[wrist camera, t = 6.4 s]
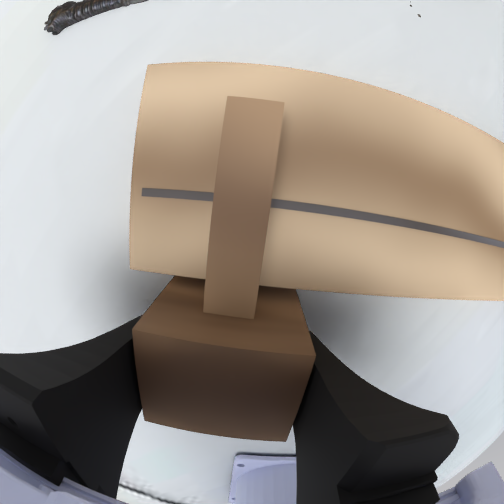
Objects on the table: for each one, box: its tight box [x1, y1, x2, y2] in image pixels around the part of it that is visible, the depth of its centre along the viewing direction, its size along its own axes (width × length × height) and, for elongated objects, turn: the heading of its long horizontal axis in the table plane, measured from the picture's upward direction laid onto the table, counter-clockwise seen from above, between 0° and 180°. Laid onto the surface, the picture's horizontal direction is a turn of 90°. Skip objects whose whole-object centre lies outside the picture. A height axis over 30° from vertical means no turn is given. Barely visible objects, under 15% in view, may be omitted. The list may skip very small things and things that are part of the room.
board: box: [129, 62, 504, 301], centre depth 10 cm, size 8×22×2 cm, turn 84°
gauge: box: [132, 96, 316, 442], centre depth 9 cm, size 10×5×5 cm, turn 173°
